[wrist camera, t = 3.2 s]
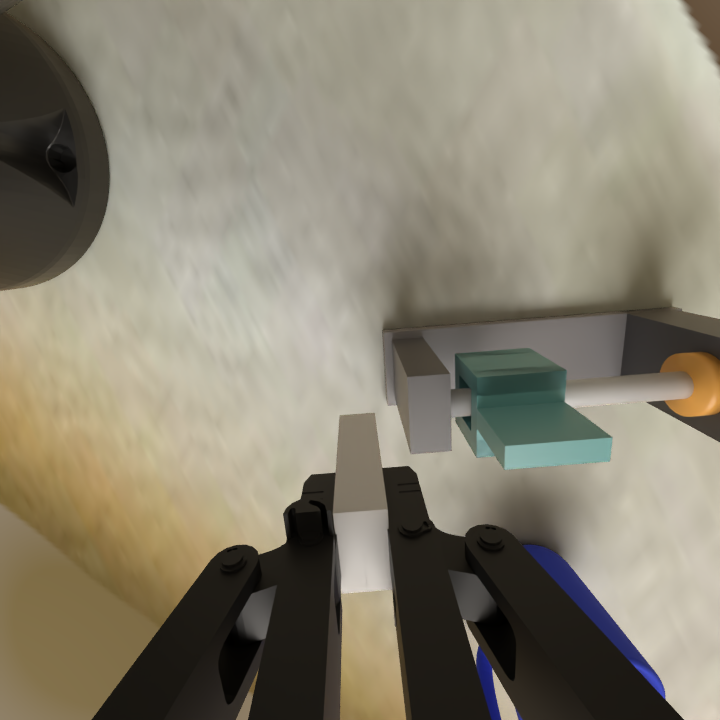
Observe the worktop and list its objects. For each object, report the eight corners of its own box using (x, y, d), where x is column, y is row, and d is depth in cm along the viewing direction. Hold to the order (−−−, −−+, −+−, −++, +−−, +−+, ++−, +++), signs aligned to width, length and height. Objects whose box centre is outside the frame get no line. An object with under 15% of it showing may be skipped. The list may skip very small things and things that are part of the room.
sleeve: (455, 421, 23) (503, 503, 16) (454, 353, 22) (506, 408, 15) (525, 415, 23) (606, 495, 16) (528, 347, 22) (616, 399, 15)
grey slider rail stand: (386, 401, 28) (408, 498, 17) (382, 330, 26) (403, 389, 16) (662, 379, 28) (852, 463, 17) (672, 306, 26) (885, 350, 16)
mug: (423, 621, 34) (453, 774, 24) (511, 513, 31) (584, 636, 21) (503, 658, 35) (562, 816, 25) (594, 557, 32) (698, 692, 22)
